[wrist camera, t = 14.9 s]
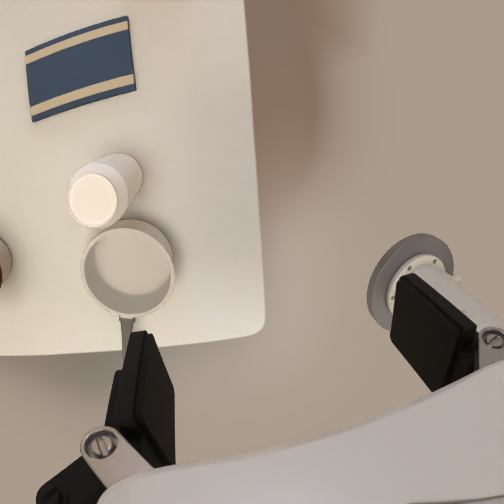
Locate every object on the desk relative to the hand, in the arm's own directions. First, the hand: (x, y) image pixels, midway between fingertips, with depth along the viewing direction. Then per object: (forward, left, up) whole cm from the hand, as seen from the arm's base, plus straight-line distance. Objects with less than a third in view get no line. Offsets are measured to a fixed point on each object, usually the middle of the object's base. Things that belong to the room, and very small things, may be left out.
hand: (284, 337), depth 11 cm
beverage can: (+12, -3, -30) cm, 33 cm away
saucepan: (+14, +11, -30) cm, 35 cm away
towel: (+15, -18, -30) cm, 38 cm away
